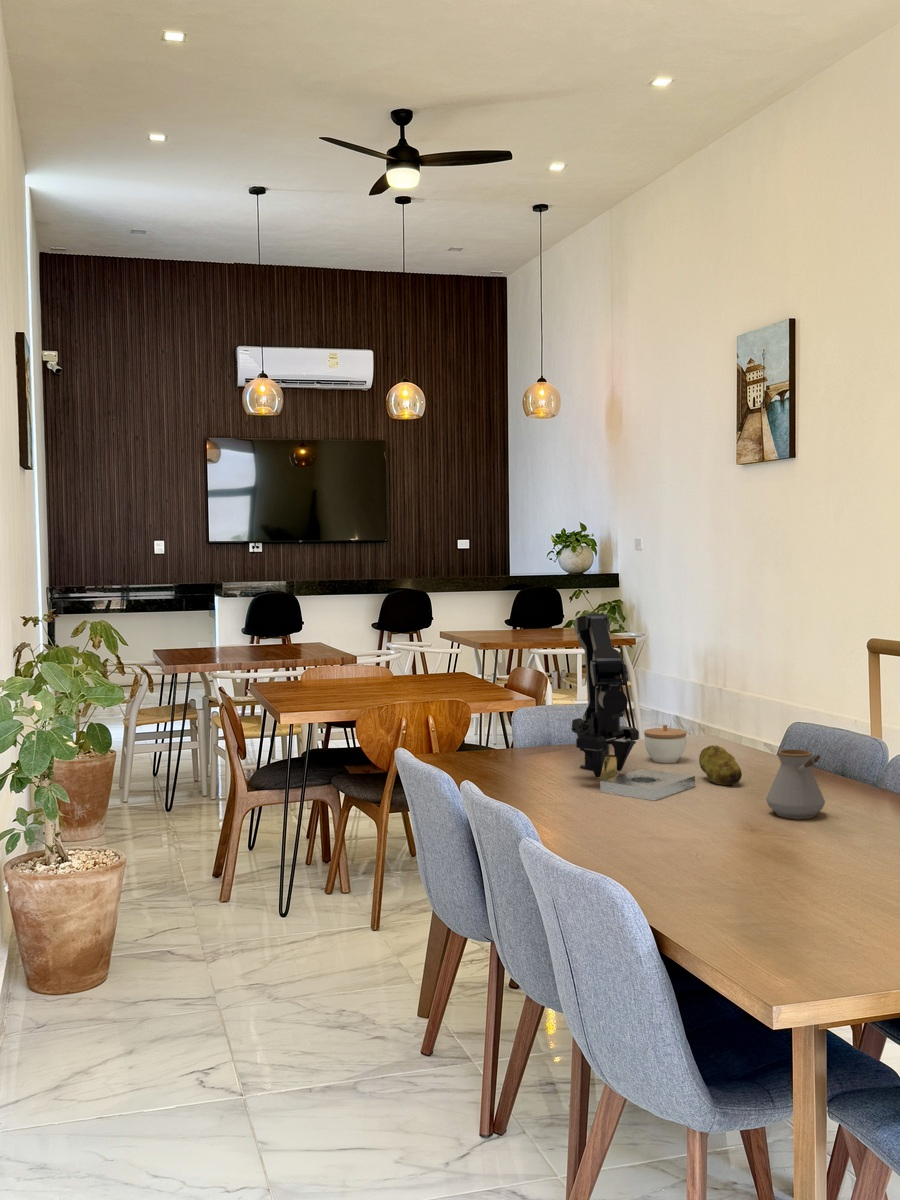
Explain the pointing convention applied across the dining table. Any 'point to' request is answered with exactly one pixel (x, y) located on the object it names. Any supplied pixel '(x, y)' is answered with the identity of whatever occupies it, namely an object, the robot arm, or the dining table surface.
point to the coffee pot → (796, 786)
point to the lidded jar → (665, 744)
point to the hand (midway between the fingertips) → (608, 773)
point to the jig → (647, 784)
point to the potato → (719, 766)
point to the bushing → (609, 767)
